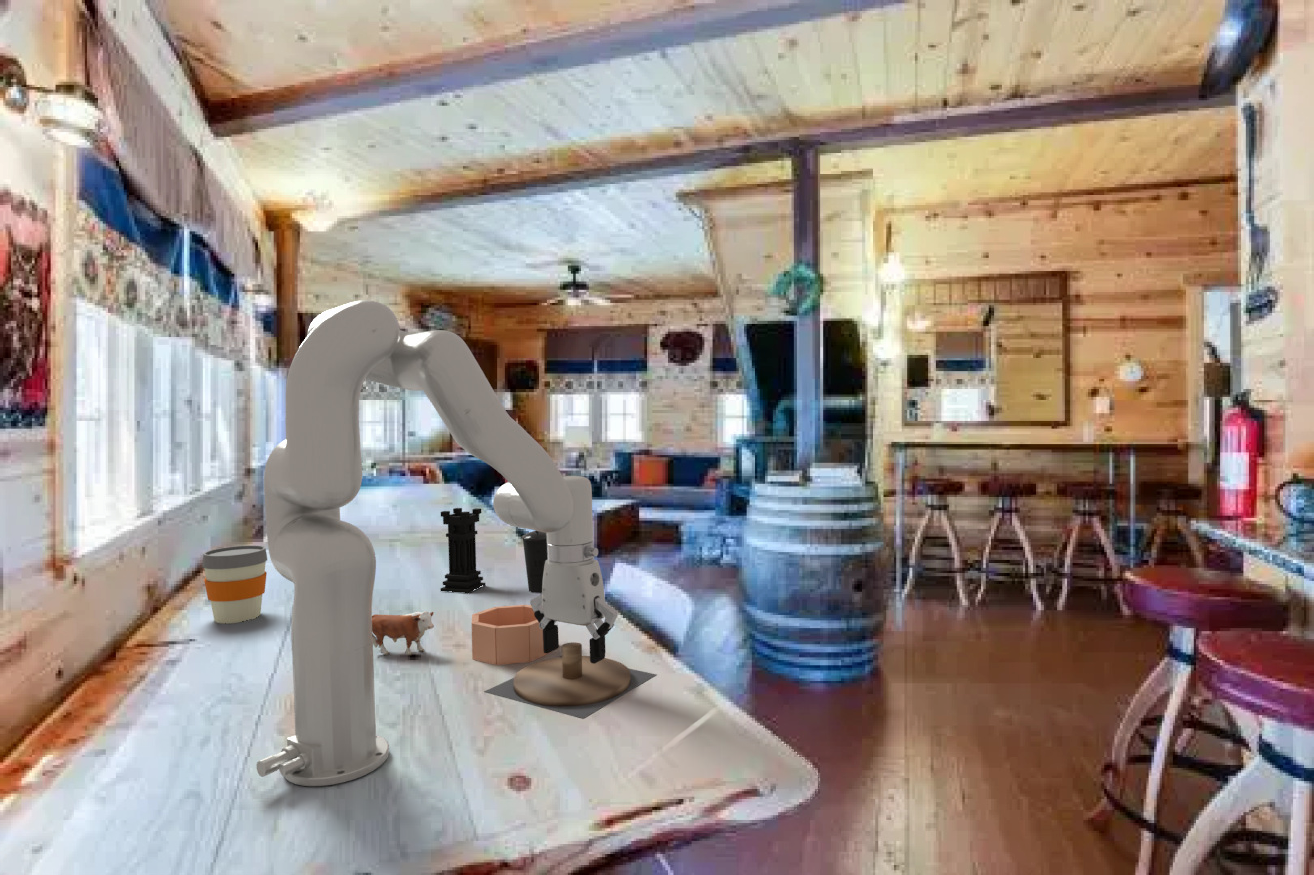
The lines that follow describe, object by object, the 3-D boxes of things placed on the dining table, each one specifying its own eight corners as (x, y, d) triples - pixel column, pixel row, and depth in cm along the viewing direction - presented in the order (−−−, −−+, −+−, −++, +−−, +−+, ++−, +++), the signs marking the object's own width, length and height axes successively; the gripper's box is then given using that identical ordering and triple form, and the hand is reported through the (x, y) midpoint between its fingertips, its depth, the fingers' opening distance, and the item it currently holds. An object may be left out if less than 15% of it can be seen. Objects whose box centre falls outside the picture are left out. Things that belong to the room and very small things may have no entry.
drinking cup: (519, 588, 185) (517, 509, 185) (548, 585, 189) (547, 507, 188) (527, 595, 178) (525, 513, 178) (557, 591, 182) (556, 511, 181)
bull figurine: (430, 658, 135) (429, 614, 134) (364, 654, 137) (363, 611, 137) (442, 650, 139) (441, 608, 139) (378, 647, 142) (376, 605, 141)
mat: (583, 721, 107) (583, 718, 107) (484, 694, 117) (483, 691, 117) (656, 677, 124) (656, 674, 124) (564, 657, 134) (564, 654, 134)
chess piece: (440, 591, 184) (438, 512, 183) (458, 584, 191) (456, 507, 191) (468, 593, 181) (466, 512, 181) (485, 585, 189) (483, 508, 188)
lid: (582, 716, 107) (582, 674, 107) (488, 691, 117) (487, 652, 117) (652, 675, 123) (652, 638, 123) (564, 655, 134) (563, 622, 133)
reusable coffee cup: (265, 621, 160) (263, 553, 159) (199, 628, 155) (196, 558, 155) (272, 607, 172) (270, 543, 171) (210, 613, 167) (207, 548, 166)
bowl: (513, 671, 127) (512, 631, 127) (456, 657, 135) (455, 620, 135) (566, 648, 139) (565, 611, 139) (510, 636, 147) (509, 601, 147)
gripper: (627, 552, 118) (630, 657, 119) (545, 543, 127) (548, 640, 128) (599, 562, 112) (603, 672, 113) (514, 552, 121) (518, 654, 122)
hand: (574, 655), depth 121 cm, fingers open, 9 cm apart
